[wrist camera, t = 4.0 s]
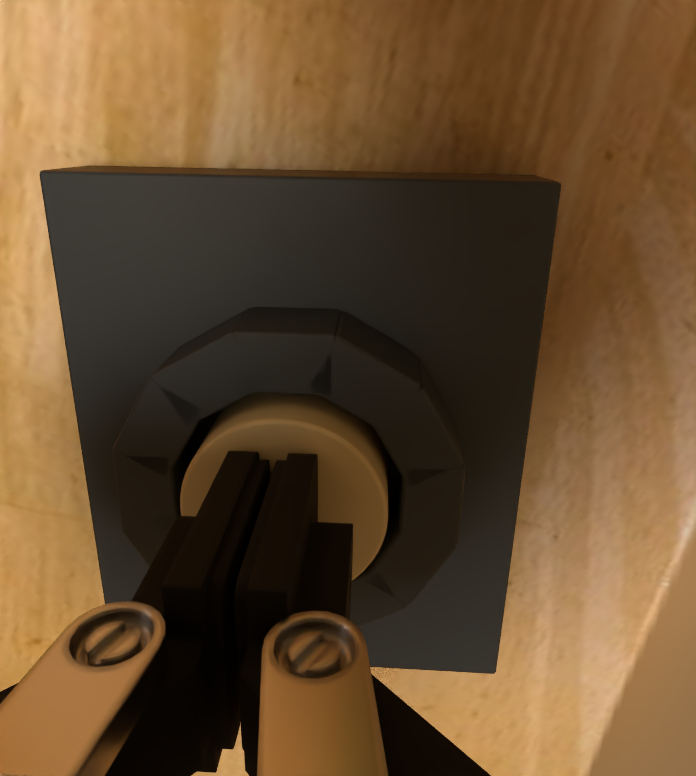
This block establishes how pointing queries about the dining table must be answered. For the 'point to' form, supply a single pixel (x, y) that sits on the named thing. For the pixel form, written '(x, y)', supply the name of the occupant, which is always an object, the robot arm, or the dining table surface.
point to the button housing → (315, 360)
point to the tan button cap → (306, 436)
